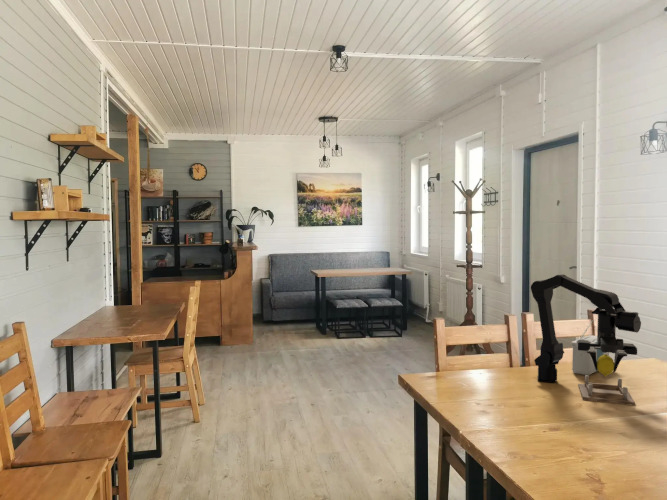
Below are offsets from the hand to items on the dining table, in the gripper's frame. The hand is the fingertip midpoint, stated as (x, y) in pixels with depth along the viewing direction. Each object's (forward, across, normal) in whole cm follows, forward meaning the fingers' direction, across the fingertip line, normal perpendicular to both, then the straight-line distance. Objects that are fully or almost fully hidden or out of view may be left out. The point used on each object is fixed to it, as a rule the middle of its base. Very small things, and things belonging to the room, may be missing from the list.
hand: (605, 370), depth 183 cm
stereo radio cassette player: (+9, -1, +33) cm, 34 cm away
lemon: (+2, 0, 0) cm, 2 cm away
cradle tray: (+9, 0, 0) cm, 9 cm away
